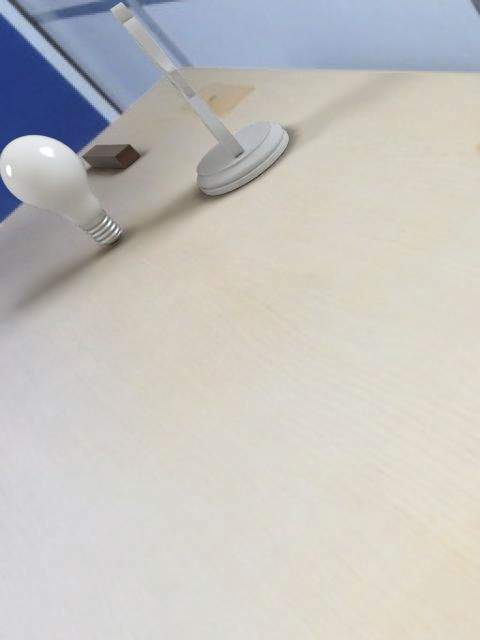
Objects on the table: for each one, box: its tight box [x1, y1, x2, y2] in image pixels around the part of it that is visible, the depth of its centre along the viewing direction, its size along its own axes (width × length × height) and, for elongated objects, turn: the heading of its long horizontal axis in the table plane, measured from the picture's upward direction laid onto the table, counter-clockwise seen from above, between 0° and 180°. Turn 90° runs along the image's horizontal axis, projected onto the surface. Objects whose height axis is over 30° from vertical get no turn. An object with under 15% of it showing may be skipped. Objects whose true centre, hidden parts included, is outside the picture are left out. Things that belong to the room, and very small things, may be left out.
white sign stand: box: [109, 1, 290, 196], centre depth 67 cm, size 10×10×15 cm
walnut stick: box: [81, 143, 141, 169], centre depth 90 cm, size 10×2×2 cm, turn 57°
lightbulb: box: [0, 134, 124, 247], centre depth 69 cm, size 6×6×11 cm
